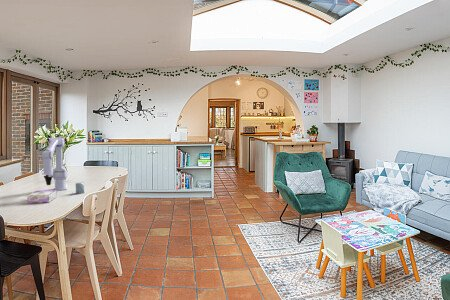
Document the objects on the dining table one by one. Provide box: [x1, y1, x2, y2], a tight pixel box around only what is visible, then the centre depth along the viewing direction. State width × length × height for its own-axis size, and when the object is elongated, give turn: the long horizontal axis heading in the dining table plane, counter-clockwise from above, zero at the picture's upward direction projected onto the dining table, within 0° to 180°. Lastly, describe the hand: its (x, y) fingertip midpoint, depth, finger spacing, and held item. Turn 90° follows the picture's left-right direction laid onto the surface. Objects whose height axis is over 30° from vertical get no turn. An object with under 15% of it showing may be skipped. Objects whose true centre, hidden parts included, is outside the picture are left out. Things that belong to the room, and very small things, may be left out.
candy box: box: [26, 189, 58, 204], centre depth 221 cm, size 14×6×16 cm
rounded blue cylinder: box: [75, 182, 85, 195], centre depth 245 cm, size 6×6×8 cm
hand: (48, 185), depth 230 cm, fingers closed
